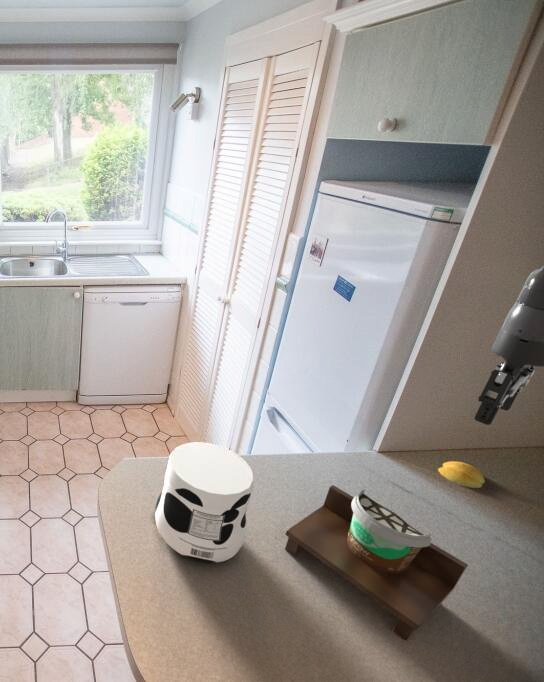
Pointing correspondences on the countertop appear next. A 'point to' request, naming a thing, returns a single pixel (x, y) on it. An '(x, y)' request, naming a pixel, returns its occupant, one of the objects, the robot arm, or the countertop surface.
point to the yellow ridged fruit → (462, 474)
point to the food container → (382, 536)
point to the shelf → (386, 588)
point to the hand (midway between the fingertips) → (491, 414)
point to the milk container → (204, 502)
